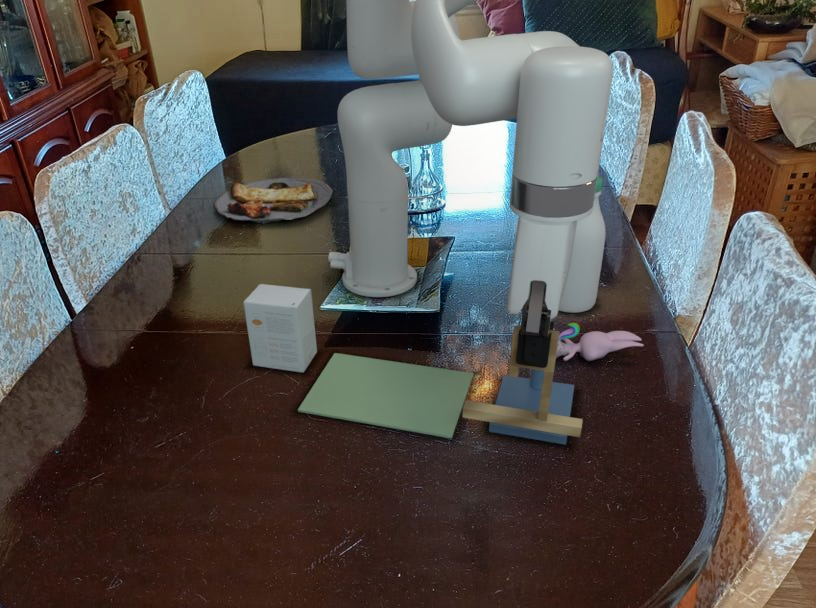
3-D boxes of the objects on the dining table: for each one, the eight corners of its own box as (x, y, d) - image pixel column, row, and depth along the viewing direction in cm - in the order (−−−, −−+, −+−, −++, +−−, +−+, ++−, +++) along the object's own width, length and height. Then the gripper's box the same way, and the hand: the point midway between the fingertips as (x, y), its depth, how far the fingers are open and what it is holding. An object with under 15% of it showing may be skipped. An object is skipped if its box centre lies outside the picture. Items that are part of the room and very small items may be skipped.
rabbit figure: (531, 377, 99) (647, 365, 96) (527, 340, 96) (648, 327, 93) (527, 352, 105) (637, 340, 101) (523, 317, 101) (637, 303, 98)
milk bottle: (597, 315, 110) (618, 187, 99) (544, 312, 111) (559, 186, 100) (593, 291, 116) (611, 169, 105) (543, 289, 118) (556, 168, 107)
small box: (318, 353, 105) (312, 288, 99) (303, 374, 101) (297, 307, 95) (267, 346, 107) (259, 282, 102) (251, 366, 103) (242, 300, 97)
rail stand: (488, 431, 88) (494, 353, 82) (503, 381, 97) (509, 308, 90) (565, 445, 85) (578, 365, 79) (573, 392, 94) (584, 316, 88)
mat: (298, 411, 93) (297, 409, 93) (334, 355, 104) (334, 352, 104) (451, 438, 87) (451, 436, 87) (473, 375, 98) (473, 373, 98)
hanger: (462, 417, 84) (467, 326, 77) (465, 409, 85) (470, 319, 78) (579, 437, 80) (596, 343, 73) (581, 428, 81) (597, 335, 74)
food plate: (202, 228, 147) (199, 212, 145) (230, 188, 166) (228, 173, 164) (324, 228, 144) (323, 211, 142) (338, 187, 163) (337, 172, 161)
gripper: (522, 163, 74) (508, 318, 85) (497, 221, 62) (484, 395, 72) (599, 167, 72) (575, 326, 82) (589, 229, 60) (562, 407, 70)
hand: (533, 357), depth 77 cm, fingers closed on hanger
